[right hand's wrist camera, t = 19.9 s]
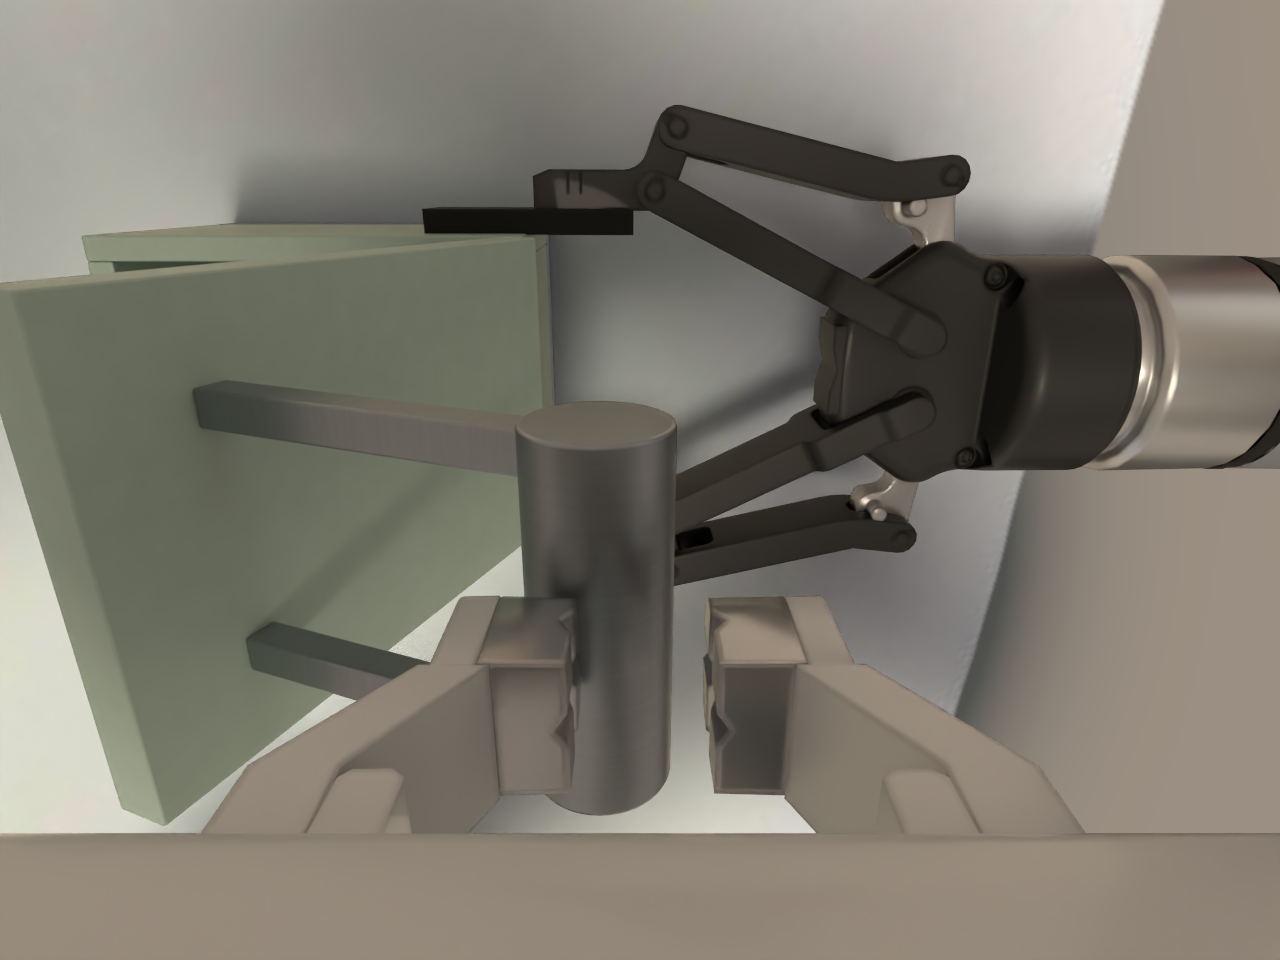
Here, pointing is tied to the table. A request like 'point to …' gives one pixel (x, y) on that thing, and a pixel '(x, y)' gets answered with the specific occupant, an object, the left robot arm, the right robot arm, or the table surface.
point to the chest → (294, 241)
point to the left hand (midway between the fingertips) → (446, 366)
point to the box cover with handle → (326, 499)
